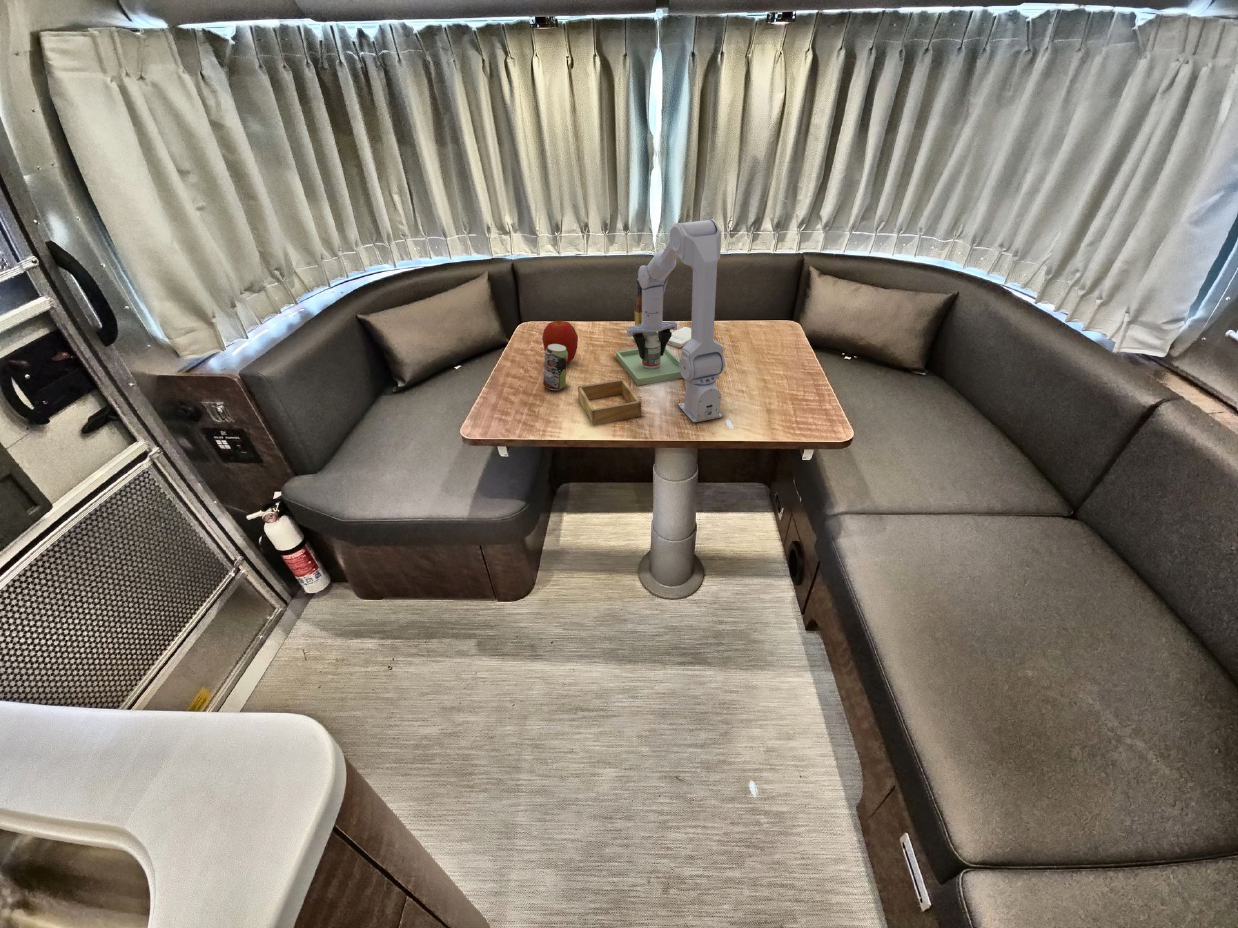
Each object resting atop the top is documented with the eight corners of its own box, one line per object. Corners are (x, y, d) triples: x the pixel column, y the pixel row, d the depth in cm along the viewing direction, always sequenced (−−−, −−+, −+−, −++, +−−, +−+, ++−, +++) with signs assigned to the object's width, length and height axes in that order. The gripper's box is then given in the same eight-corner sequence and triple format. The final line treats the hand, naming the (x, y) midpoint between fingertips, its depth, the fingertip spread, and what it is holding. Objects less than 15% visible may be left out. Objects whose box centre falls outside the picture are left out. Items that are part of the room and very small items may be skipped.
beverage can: (541, 384, 148) (536, 344, 141) (566, 380, 150) (563, 340, 143) (547, 394, 143) (542, 353, 136) (573, 389, 145) (570, 348, 138)
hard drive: (704, 337, 174) (680, 348, 167) (684, 330, 179) (660, 341, 171) (704, 332, 173) (680, 343, 166) (684, 326, 178) (660, 336, 170)
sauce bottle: (658, 339, 173) (659, 277, 161) (648, 346, 168) (649, 283, 157) (640, 336, 176) (640, 274, 164) (630, 342, 171) (630, 280, 160)
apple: (546, 372, 155) (541, 326, 147) (543, 358, 163) (538, 313, 155) (581, 368, 156) (578, 322, 148) (577, 354, 164) (574, 310, 156)
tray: (689, 376, 150) (689, 370, 149) (637, 385, 147) (637, 379, 145) (663, 350, 166) (663, 344, 164) (615, 358, 162) (615, 351, 161)
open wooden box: (641, 416, 133) (641, 402, 131) (592, 425, 130) (591, 410, 128) (623, 392, 143) (623, 378, 141) (578, 400, 140) (577, 386, 138)
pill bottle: (639, 362, 158) (639, 331, 152) (657, 360, 158) (657, 329, 153) (644, 370, 153) (644, 338, 148) (662, 368, 154) (663, 335, 148)
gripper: (671, 302, 151) (669, 347, 159) (622, 308, 148) (623, 354, 155) (681, 310, 146) (678, 356, 153) (631, 317, 142) (631, 364, 150)
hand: (651, 356), depth 154 cm, fingers closed on pill bottle, 5 cm apart
